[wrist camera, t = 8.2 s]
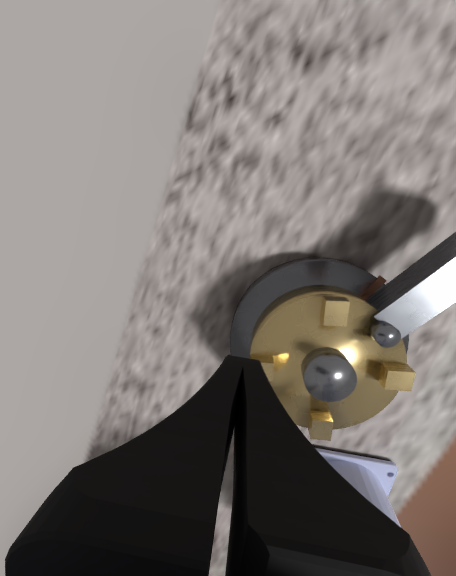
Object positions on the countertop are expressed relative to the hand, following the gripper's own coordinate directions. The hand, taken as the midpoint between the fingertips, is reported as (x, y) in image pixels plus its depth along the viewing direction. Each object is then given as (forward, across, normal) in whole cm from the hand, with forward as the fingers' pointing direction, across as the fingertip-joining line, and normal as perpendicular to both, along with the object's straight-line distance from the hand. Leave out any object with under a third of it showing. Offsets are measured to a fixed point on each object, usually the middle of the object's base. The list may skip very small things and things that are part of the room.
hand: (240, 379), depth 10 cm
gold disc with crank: (+8, -8, -1) cm, 11 cm away
